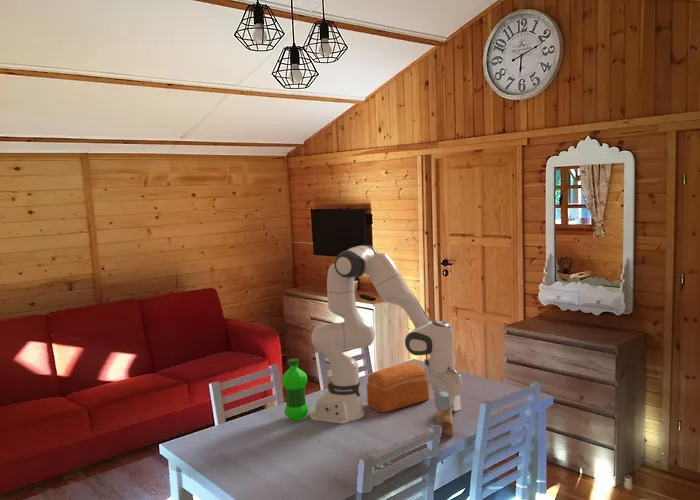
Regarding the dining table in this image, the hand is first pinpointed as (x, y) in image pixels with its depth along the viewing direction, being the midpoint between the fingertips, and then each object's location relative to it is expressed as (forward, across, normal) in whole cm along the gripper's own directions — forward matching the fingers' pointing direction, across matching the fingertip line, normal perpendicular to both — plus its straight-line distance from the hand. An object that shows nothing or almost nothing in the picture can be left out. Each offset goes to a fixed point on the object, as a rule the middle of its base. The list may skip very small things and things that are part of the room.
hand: (443, 400), depth 223 cm
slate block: (+3, 0, 0) cm, 3 cm away
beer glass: (+13, +18, -16) cm, 27 cm away
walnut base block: (+13, 0, 0) cm, 13 cm away
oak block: (+8, 0, 0) cm, 8 cm away
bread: (+13, +36, +1) cm, 39 cm away
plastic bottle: (+13, +41, +45) cm, 63 cm away
